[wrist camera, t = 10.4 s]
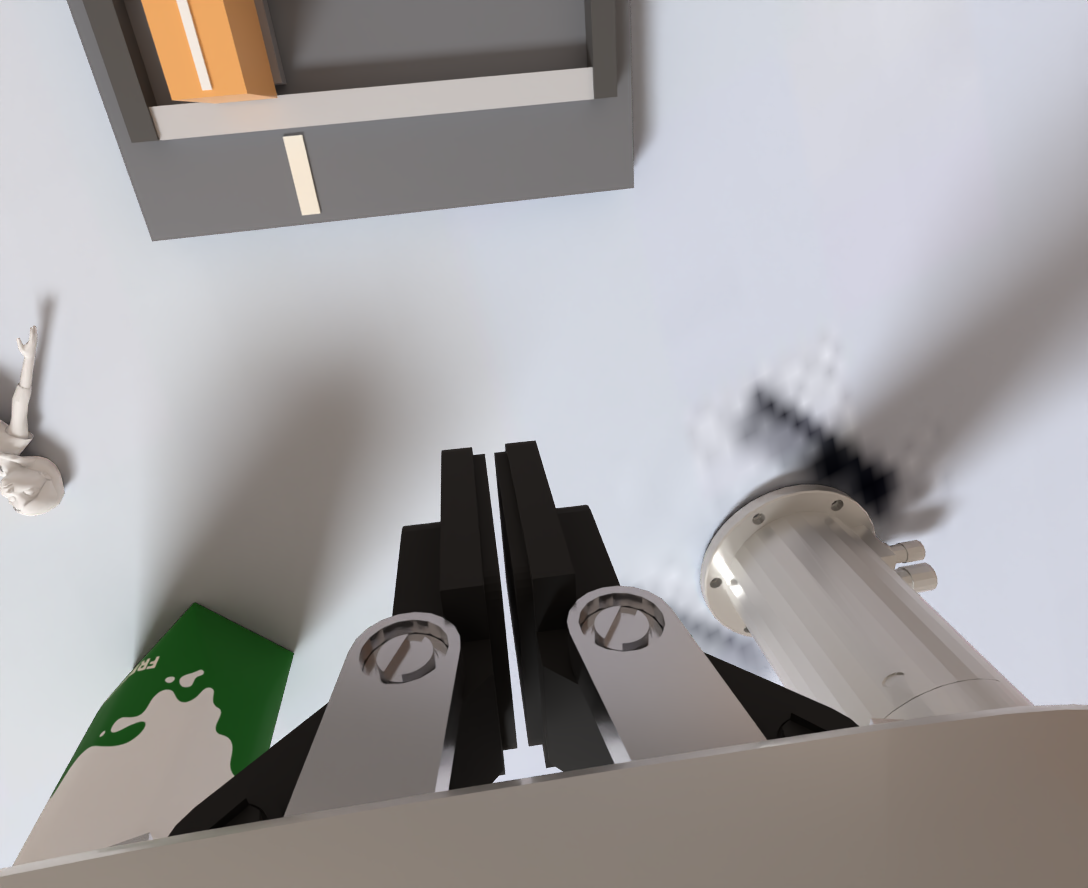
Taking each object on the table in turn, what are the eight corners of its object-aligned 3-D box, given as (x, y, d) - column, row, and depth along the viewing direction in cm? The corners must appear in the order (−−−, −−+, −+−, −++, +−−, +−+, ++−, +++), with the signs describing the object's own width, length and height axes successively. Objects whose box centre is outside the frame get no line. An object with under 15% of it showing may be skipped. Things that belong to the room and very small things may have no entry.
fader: (262, -19, 25) (217, -57, 20) (289, 98, 27) (256, 92, 21) (181, -14, 25) (113, -51, 19) (215, 104, 26) (161, 101, 21)
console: (612, -186, 26) (635, -222, 23) (622, 184, 33) (641, 190, 30) (34, -158, 24) (-19, -195, 21) (168, 234, 30) (141, 246, 27)
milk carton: (236, 727, 44) (112, 1127, 27) (107, 671, 41) (-136, 1093, 23) (315, 649, 43) (237, 1024, 25) (187, 583, 39) (-11, 969, 21)
